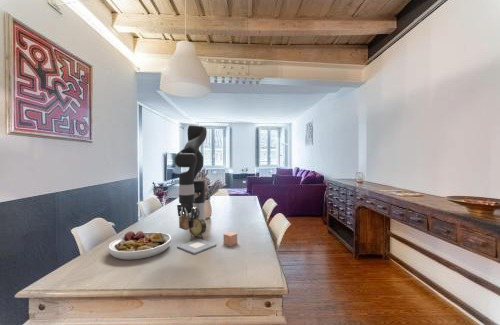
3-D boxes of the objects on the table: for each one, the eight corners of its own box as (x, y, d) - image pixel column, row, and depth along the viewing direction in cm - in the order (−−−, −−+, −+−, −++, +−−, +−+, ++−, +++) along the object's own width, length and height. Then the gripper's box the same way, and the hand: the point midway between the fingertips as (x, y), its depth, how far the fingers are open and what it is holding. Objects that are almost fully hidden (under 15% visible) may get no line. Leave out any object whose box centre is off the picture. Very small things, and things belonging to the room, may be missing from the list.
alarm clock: (188, 236, 148) (187, 210, 148) (194, 234, 153) (193, 208, 153) (202, 239, 143) (201, 212, 143) (207, 236, 148) (207, 210, 148)
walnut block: (179, 227, 120) (179, 217, 120) (188, 225, 124) (188, 214, 124) (185, 230, 117) (185, 219, 116) (195, 227, 121) (194, 216, 121)
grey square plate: (177, 247, 130) (177, 245, 130) (199, 240, 142) (199, 238, 142) (194, 254, 121) (194, 252, 121) (216, 245, 132) (216, 244, 132)
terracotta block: (223, 243, 136) (223, 234, 136) (230, 241, 140) (230, 231, 140) (230, 246, 132) (230, 236, 132) (237, 243, 136) (237, 233, 136)
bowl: (182, 247, 132) (182, 232, 132) (129, 268, 107) (128, 250, 107) (150, 237, 149) (150, 224, 148) (97, 253, 124) (97, 238, 124)
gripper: (201, 193, 118) (202, 227, 119) (184, 190, 127) (185, 222, 128) (189, 195, 112) (189, 231, 113) (171, 192, 121) (172, 225, 122)
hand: (187, 226), depth 120 cm, fingers closed on walnut block, 5 cm apart
